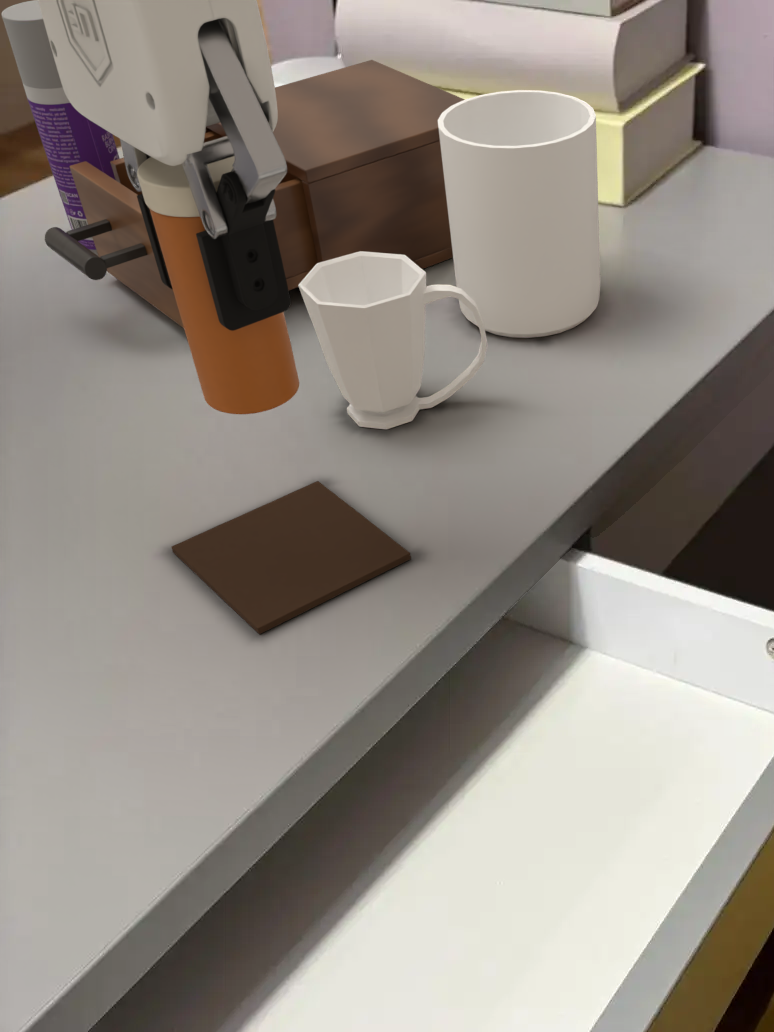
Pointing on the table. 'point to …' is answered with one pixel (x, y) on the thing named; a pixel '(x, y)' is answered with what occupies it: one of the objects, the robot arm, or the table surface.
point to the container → (56, 111)
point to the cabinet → (367, 161)
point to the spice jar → (215, 349)
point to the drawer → (128, 242)
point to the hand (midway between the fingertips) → (226, 293)
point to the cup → (379, 333)
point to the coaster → (290, 555)
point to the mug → (523, 209)
